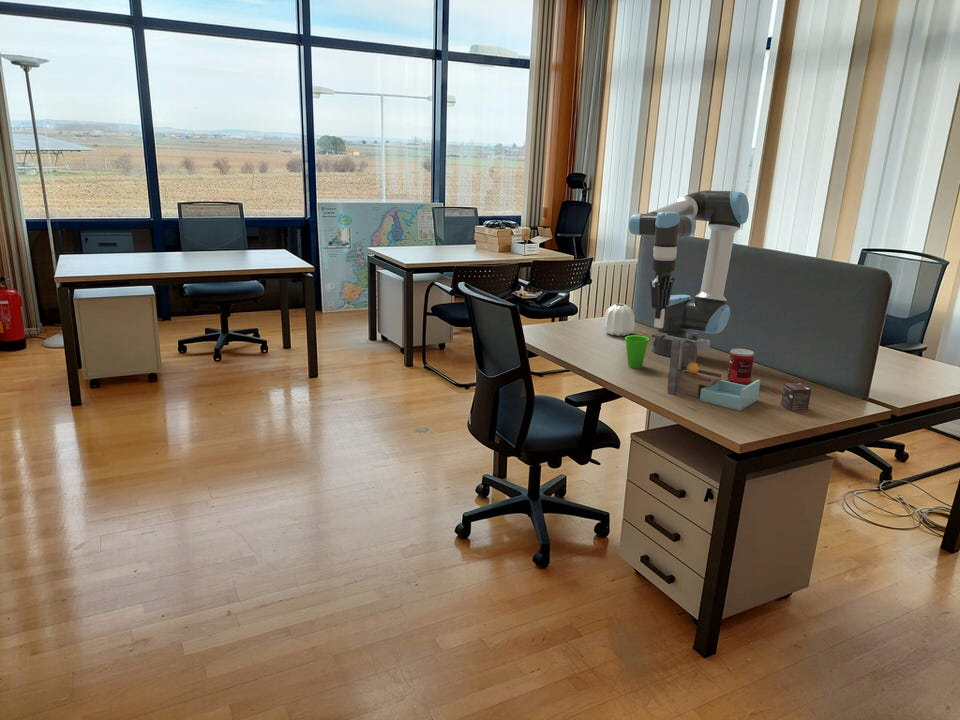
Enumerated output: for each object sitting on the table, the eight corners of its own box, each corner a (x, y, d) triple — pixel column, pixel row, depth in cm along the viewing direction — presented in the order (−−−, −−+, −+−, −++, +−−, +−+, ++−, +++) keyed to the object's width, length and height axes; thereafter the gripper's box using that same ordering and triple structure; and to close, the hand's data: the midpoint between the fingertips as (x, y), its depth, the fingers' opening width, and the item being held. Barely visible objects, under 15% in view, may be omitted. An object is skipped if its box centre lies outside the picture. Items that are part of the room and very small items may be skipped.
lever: (660, 360, 244) (663, 327, 240) (712, 371, 231) (715, 337, 228) (644, 367, 236) (647, 333, 232) (697, 379, 223) (700, 344, 220)
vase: (609, 338, 298) (611, 308, 294) (598, 330, 311) (600, 302, 307) (639, 337, 301) (641, 307, 297) (626, 329, 314) (628, 300, 310)
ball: (689, 371, 233) (690, 360, 232) (700, 374, 230) (701, 362, 229) (683, 374, 230) (684, 362, 229) (694, 376, 228) (696, 365, 226)
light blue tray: (717, 390, 232) (720, 371, 230) (757, 400, 223) (760, 379, 221) (699, 400, 223) (701, 380, 221) (740, 410, 214) (743, 389, 212)
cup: (647, 370, 254) (649, 342, 251) (622, 368, 256) (624, 340, 252) (647, 363, 262) (649, 335, 259) (622, 362, 264) (624, 334, 261)
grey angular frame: (682, 381, 241) (687, 331, 236) (723, 391, 231) (729, 338, 226) (662, 391, 231) (667, 338, 226) (704, 402, 221) (710, 347, 216)
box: (780, 404, 220) (783, 383, 218) (798, 404, 220) (801, 382, 218) (790, 411, 214) (793, 389, 212) (808, 411, 214) (811, 389, 212)
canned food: (733, 376, 248) (736, 347, 245) (754, 381, 242) (758, 351, 239) (723, 380, 243) (726, 351, 239) (744, 386, 237) (748, 355, 234)
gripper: (663, 255, 235) (658, 322, 242) (644, 259, 226) (639, 328, 233) (683, 258, 230) (677, 325, 237) (665, 262, 221) (659, 332, 228)
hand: (658, 327), depth 235 cm, fingers closed
